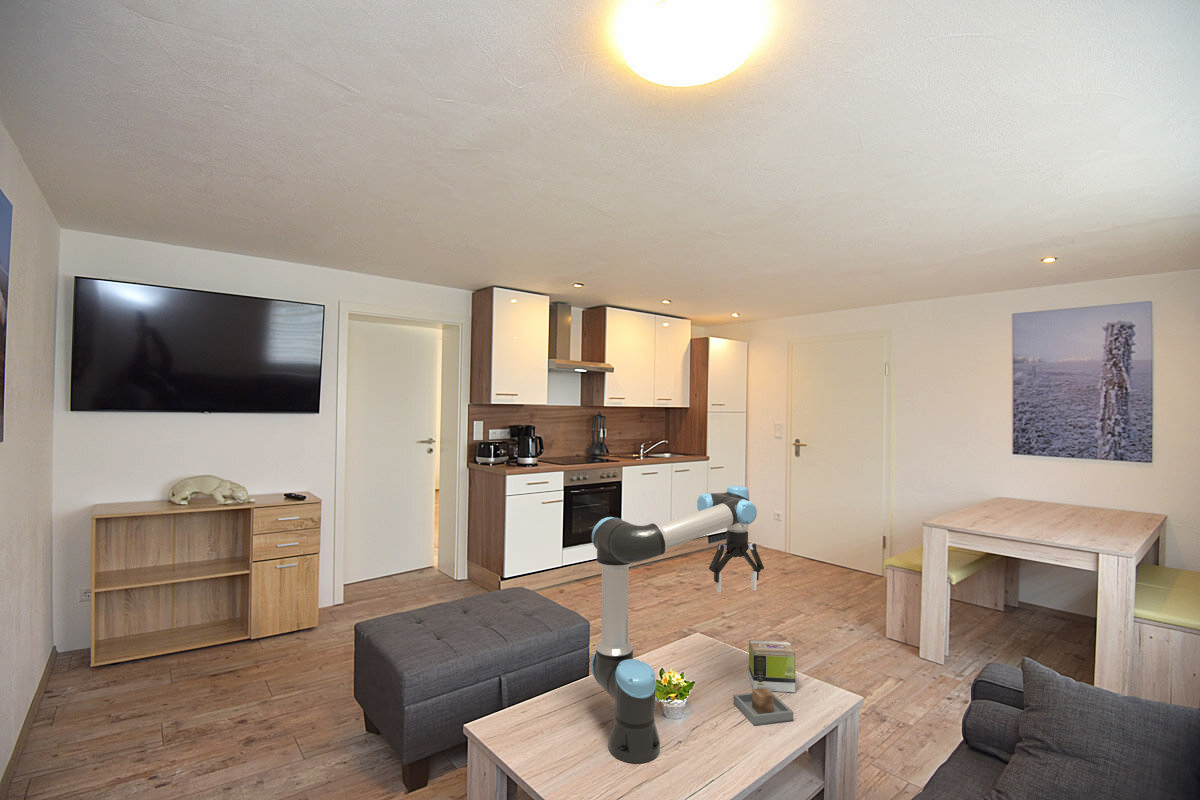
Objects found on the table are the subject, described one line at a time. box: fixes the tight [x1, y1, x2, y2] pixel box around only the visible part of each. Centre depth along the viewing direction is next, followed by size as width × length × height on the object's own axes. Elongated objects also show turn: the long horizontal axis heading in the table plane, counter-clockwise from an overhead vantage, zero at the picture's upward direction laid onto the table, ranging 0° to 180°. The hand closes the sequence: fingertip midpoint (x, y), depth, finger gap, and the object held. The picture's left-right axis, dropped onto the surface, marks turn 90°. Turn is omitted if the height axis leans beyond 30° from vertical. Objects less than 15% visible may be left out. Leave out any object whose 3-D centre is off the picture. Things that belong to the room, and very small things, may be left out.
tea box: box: [748, 639, 797, 693], centre depth 205 cm, size 15×10×15 cm
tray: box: [732, 691, 794, 727], centre depth 186 cm, size 14×14×3 cm
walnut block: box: [751, 688, 775, 714], centre depth 186 cm, size 5×5×6 cm
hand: (736, 590), depth 198 cm, fingers open, 13 cm apart
